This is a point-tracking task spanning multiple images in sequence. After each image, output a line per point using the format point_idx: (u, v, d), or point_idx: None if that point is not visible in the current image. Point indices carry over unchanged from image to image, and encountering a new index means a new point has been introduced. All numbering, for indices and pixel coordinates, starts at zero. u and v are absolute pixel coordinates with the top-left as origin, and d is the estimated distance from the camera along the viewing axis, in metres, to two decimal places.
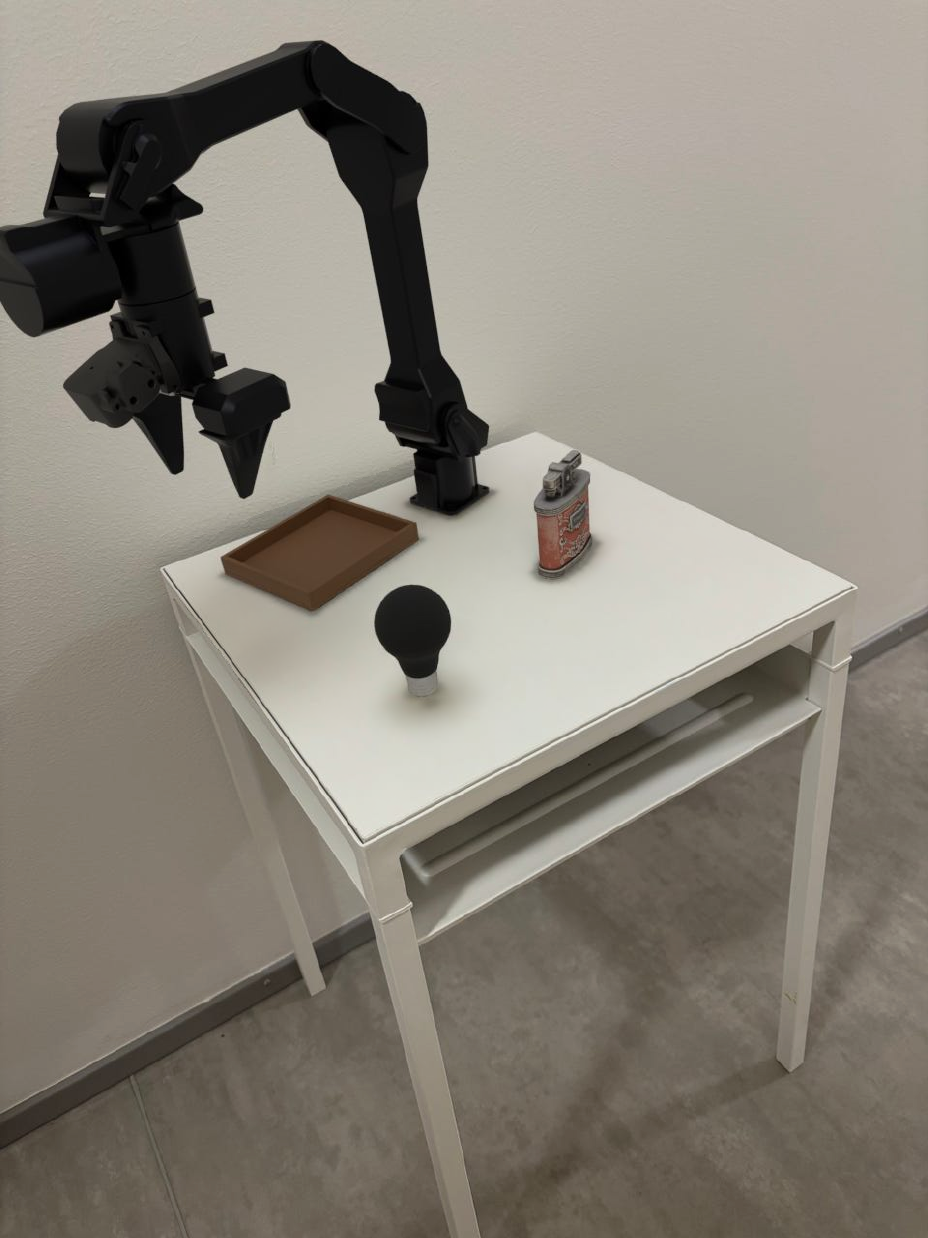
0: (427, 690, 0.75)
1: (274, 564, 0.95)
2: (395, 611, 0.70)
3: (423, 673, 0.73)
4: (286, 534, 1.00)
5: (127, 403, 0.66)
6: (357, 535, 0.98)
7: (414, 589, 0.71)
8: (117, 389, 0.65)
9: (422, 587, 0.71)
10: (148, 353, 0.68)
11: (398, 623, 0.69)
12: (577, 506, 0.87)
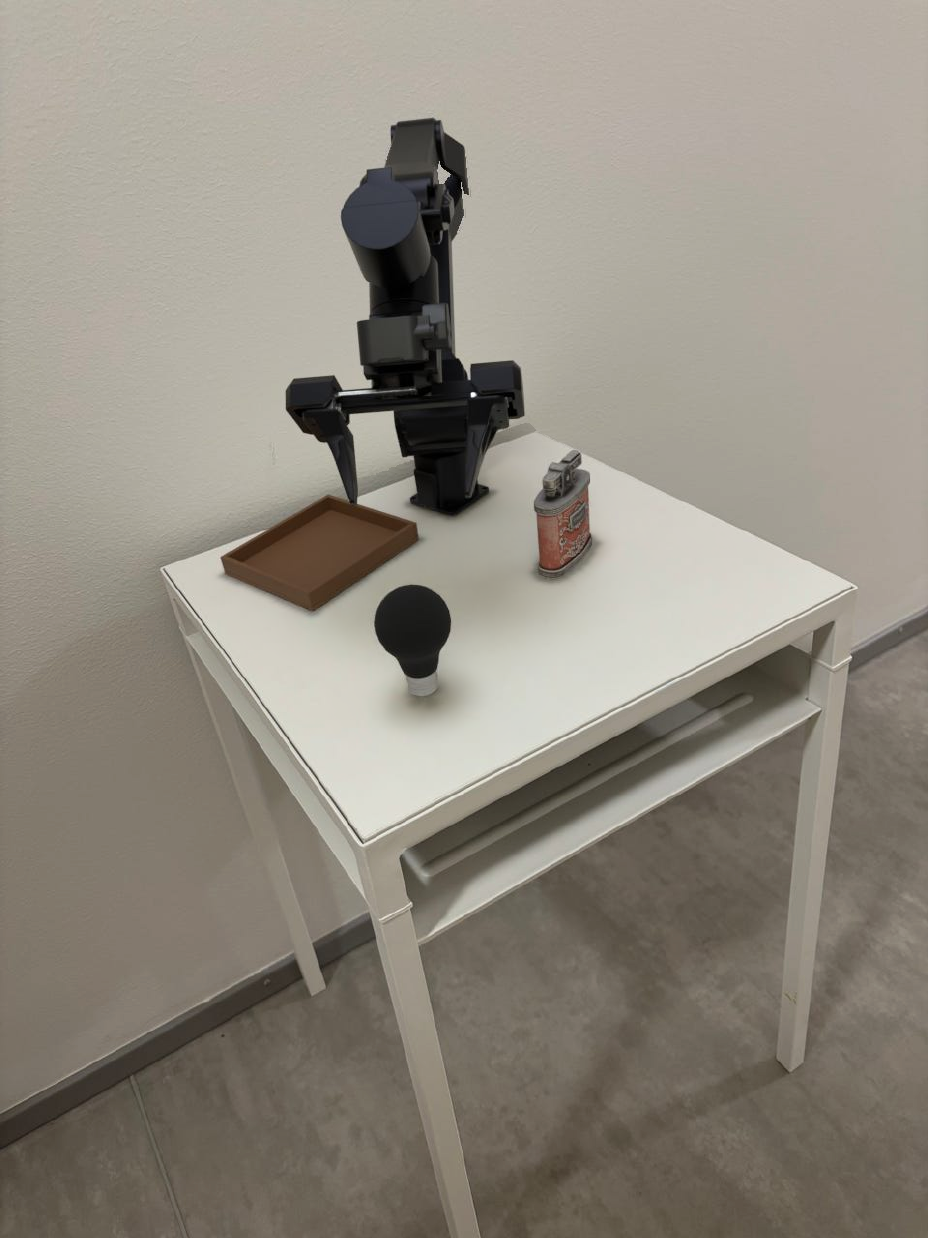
0: (427, 690, 0.75)
1: (274, 564, 0.95)
2: (395, 611, 0.70)
3: (423, 673, 0.73)
4: (286, 534, 1.00)
5: (446, 328, 0.69)
6: (357, 535, 0.98)
7: (414, 589, 0.71)
8: (440, 315, 0.70)
9: (422, 587, 0.71)
10: None
11: (398, 623, 0.69)
12: (577, 506, 0.87)
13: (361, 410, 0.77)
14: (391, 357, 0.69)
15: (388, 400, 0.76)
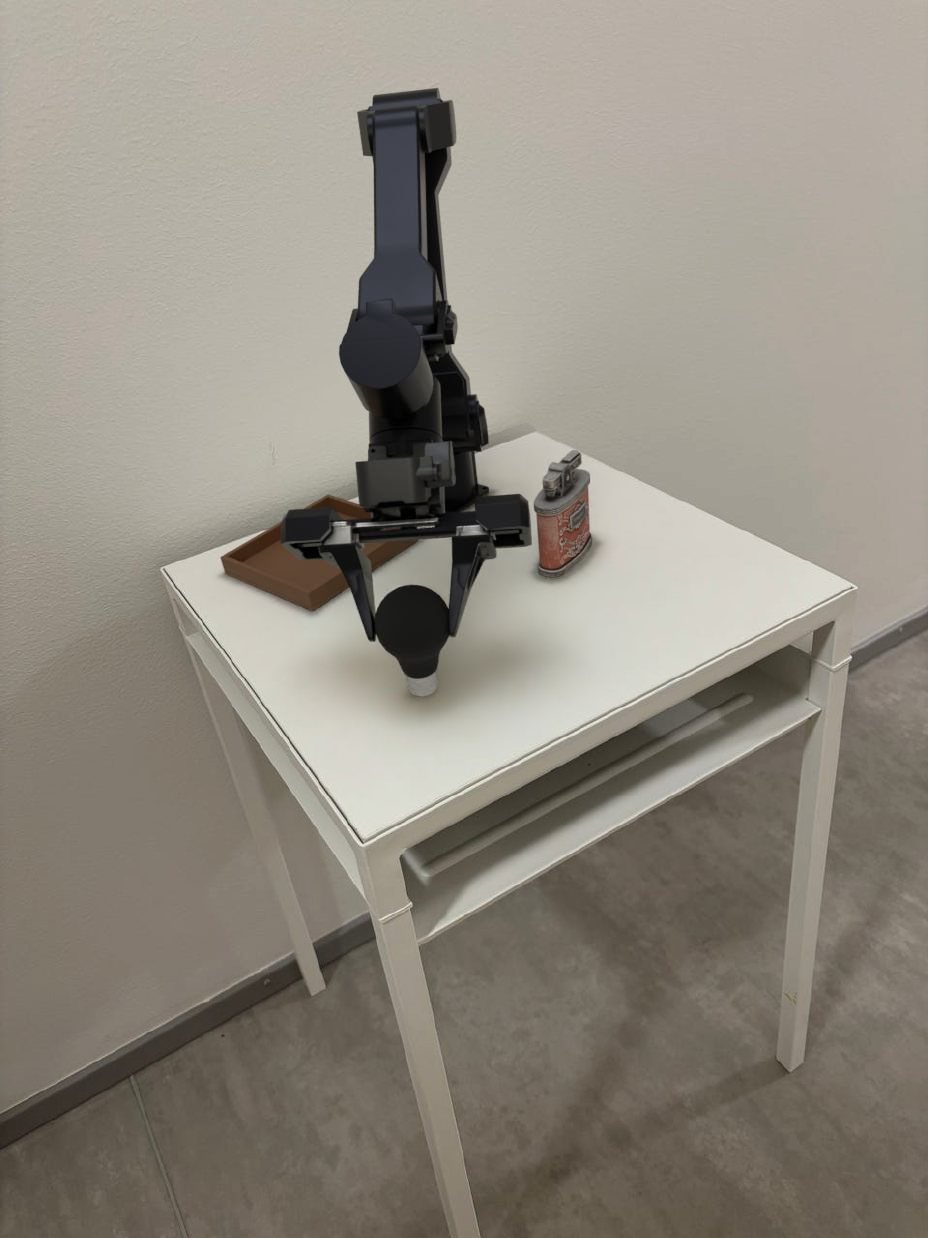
0: (427, 690, 0.75)
1: (274, 564, 0.95)
2: (395, 611, 0.70)
3: (423, 673, 0.73)
4: None
5: (450, 469, 0.66)
6: None
7: (414, 589, 0.71)
8: (443, 455, 0.66)
9: (422, 587, 0.71)
10: None
11: (399, 624, 0.69)
12: (577, 506, 0.87)
13: (360, 541, 0.73)
14: (392, 500, 0.65)
15: (388, 531, 0.73)
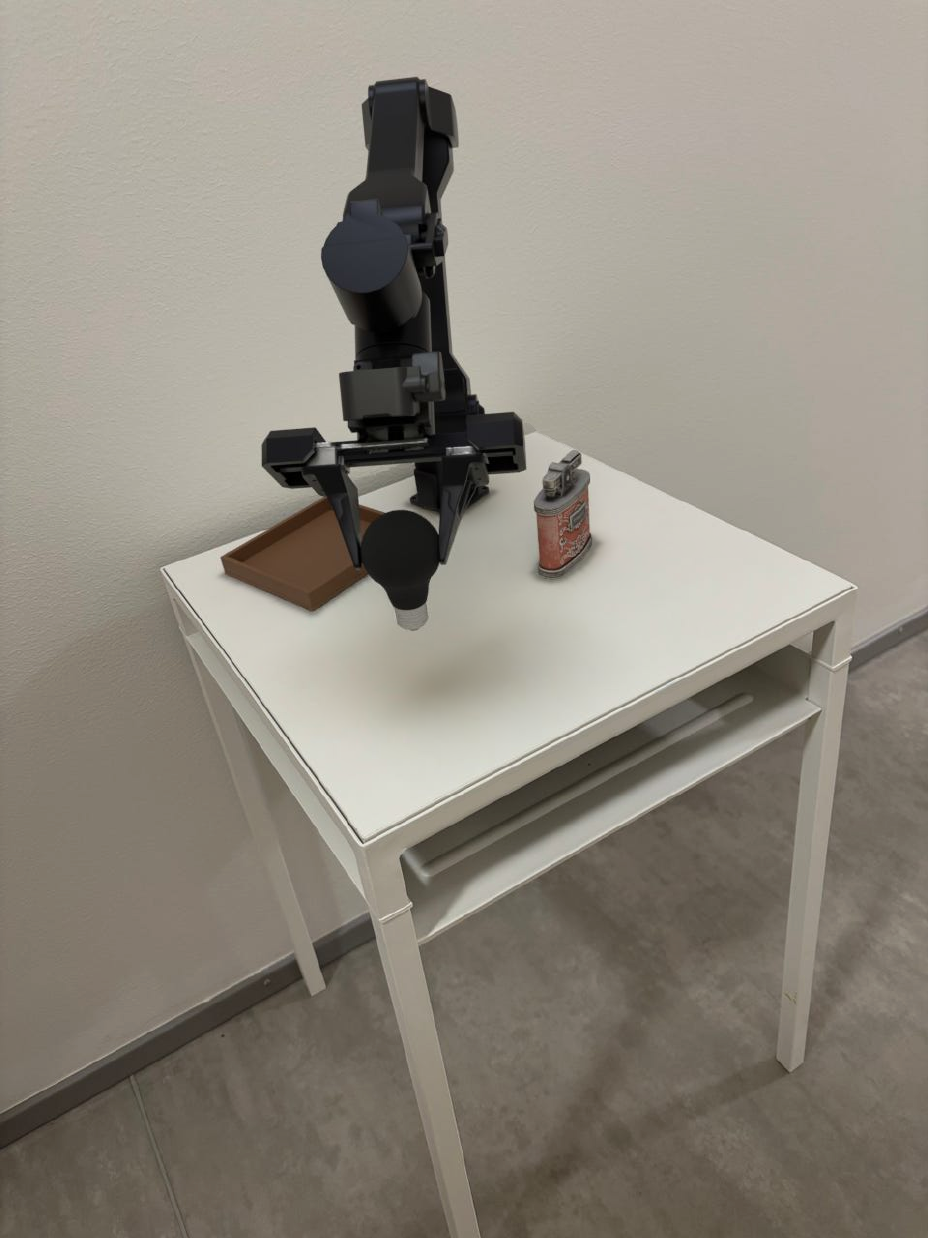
0: (417, 623, 0.71)
1: (274, 564, 0.95)
2: (382, 535, 0.66)
3: (412, 604, 0.70)
4: (286, 534, 1.00)
5: (439, 380, 0.62)
6: None
7: (402, 513, 0.67)
8: (432, 366, 0.62)
9: (411, 512, 0.68)
10: None
11: (386, 548, 0.66)
12: (577, 506, 0.87)
13: (346, 465, 0.69)
14: (377, 413, 0.62)
15: (375, 454, 0.69)
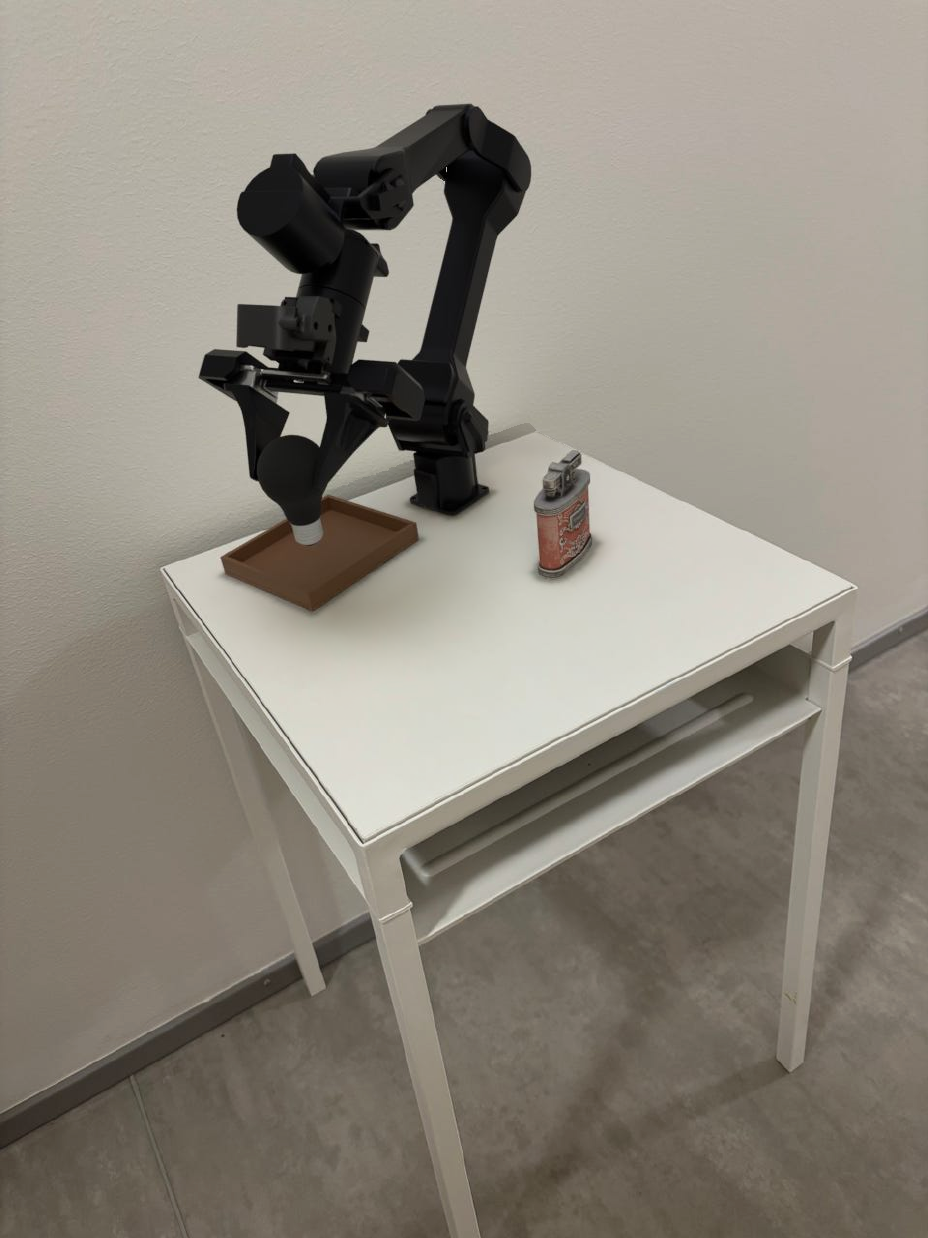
0: (306, 539, 0.80)
1: (274, 564, 0.95)
2: (267, 453, 0.75)
3: (298, 521, 0.78)
4: (286, 534, 1.00)
5: (312, 322, 0.69)
6: (357, 535, 0.98)
7: (293, 438, 0.76)
8: (309, 308, 0.69)
9: (303, 438, 0.76)
10: None
11: (266, 465, 0.75)
12: (577, 506, 0.87)
13: (270, 388, 0.79)
14: (257, 344, 0.71)
15: (292, 383, 0.78)
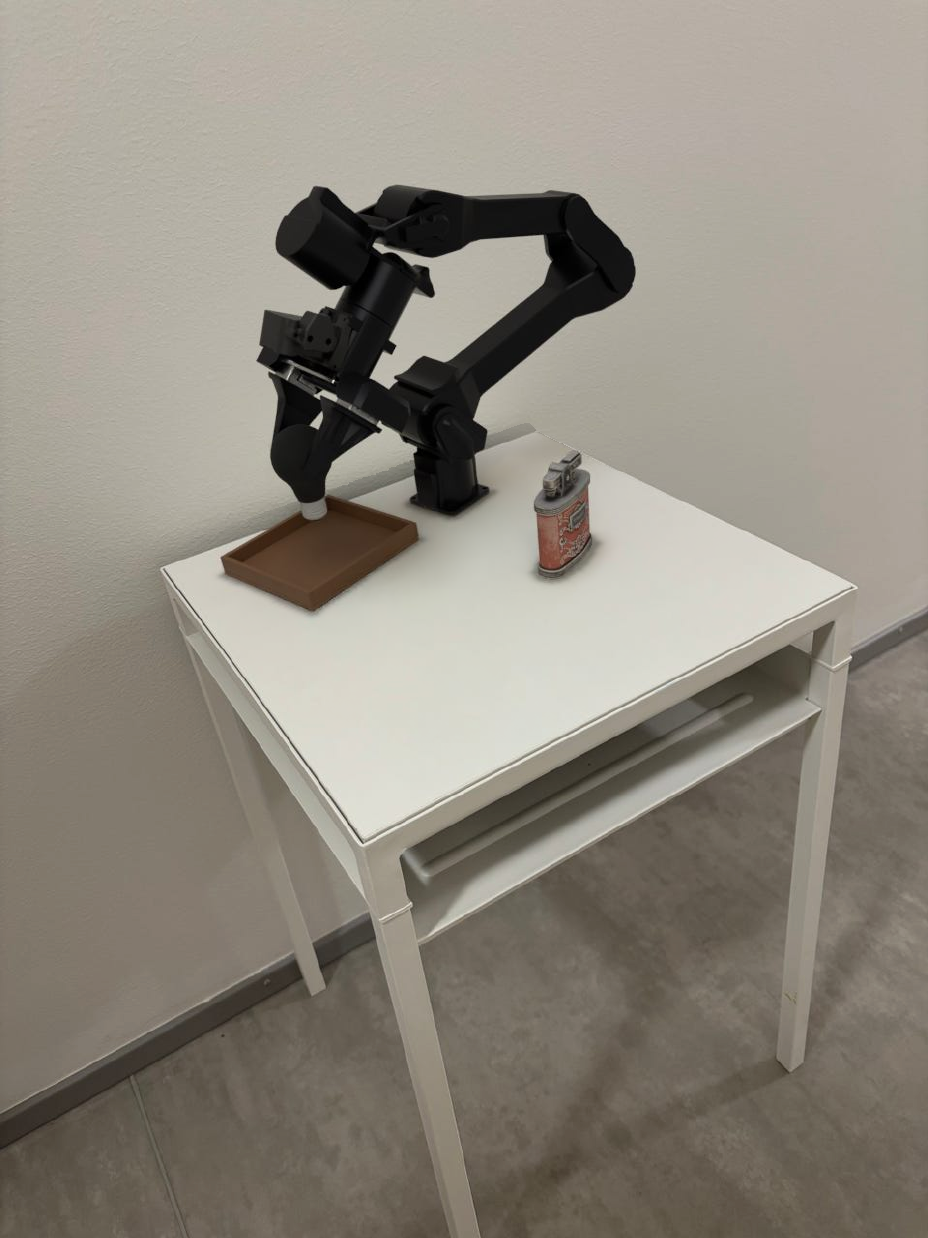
0: (307, 515, 0.92)
1: (274, 564, 0.95)
2: (276, 437, 0.88)
3: (299, 498, 0.91)
4: (286, 534, 1.00)
5: (305, 335, 0.81)
6: (357, 535, 0.98)
7: (300, 428, 0.88)
8: (307, 323, 0.81)
9: (309, 430, 0.88)
10: (337, 332, 0.85)
11: (272, 446, 0.88)
12: (577, 506, 0.87)
13: (306, 381, 0.91)
14: (269, 346, 0.83)
15: (319, 380, 0.90)
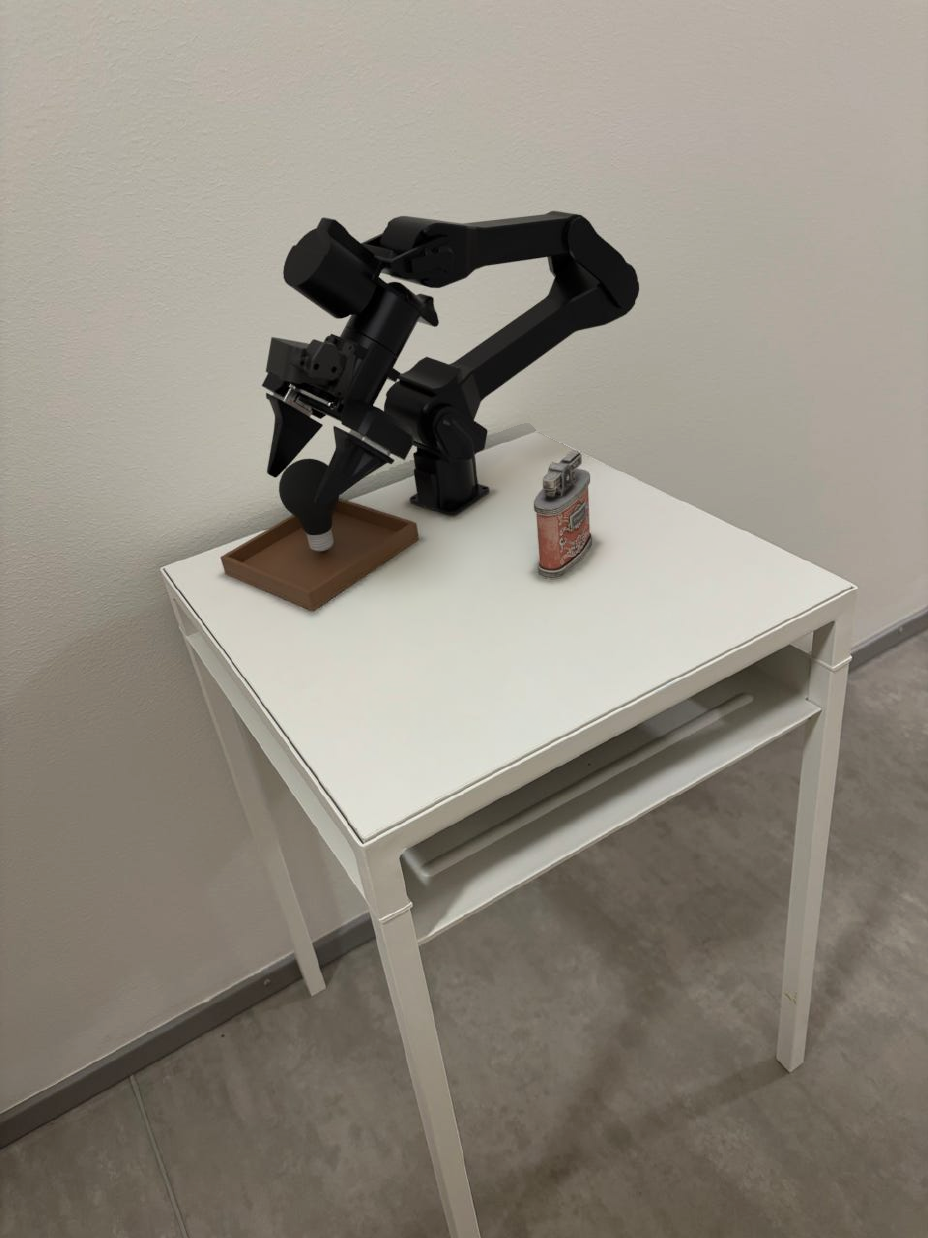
0: (314, 546, 0.94)
1: (274, 564, 0.95)
2: (285, 471, 0.90)
3: (307, 530, 0.93)
4: (286, 534, 1.00)
5: (312, 363, 0.82)
6: (357, 535, 0.98)
7: (309, 463, 0.90)
8: (313, 351, 0.82)
9: (317, 464, 0.90)
10: (342, 360, 0.86)
11: (282, 480, 0.90)
12: (577, 506, 0.87)
13: (311, 407, 0.93)
14: (275, 373, 0.85)
15: (323, 406, 0.91)
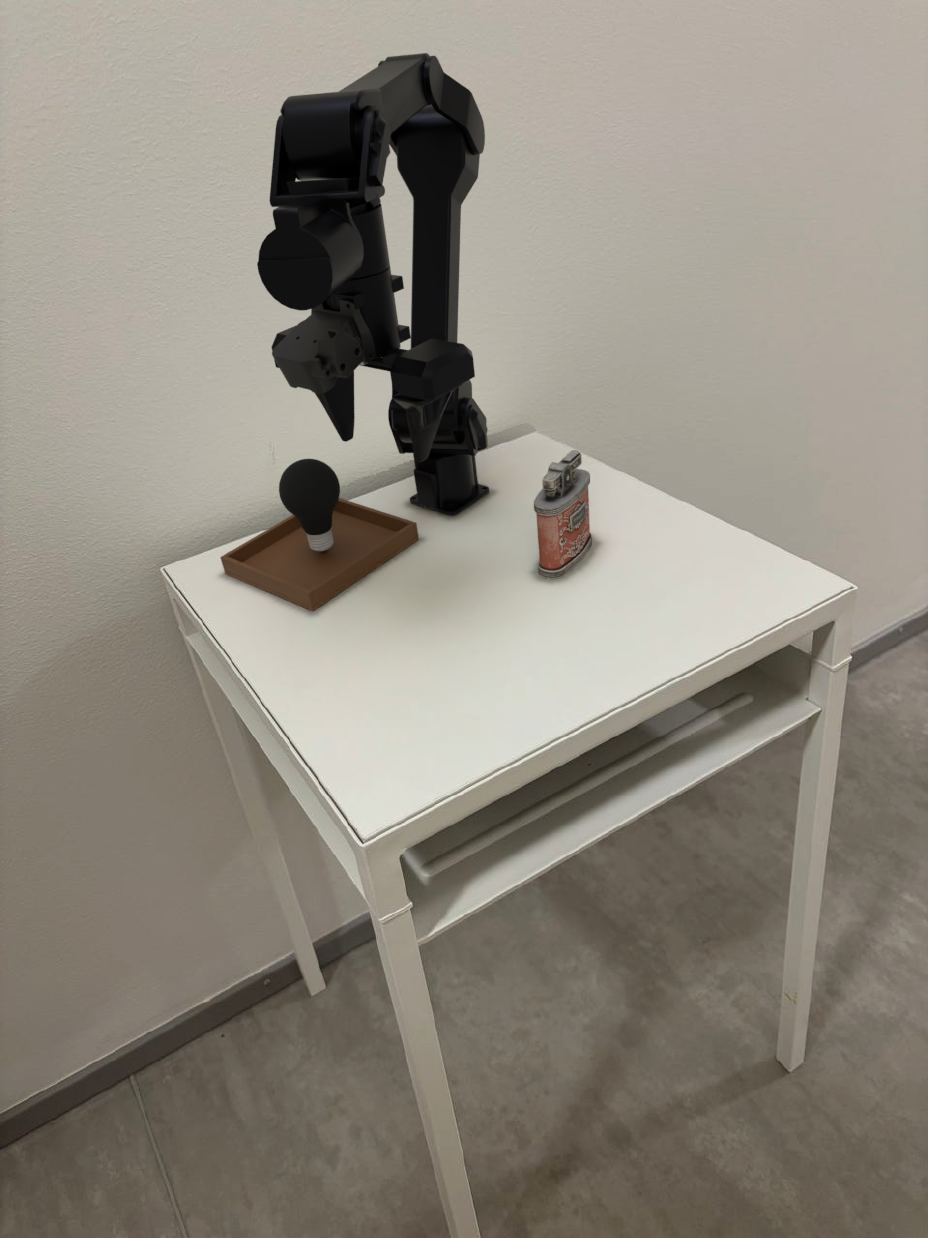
0: (314, 546, 0.94)
1: (274, 564, 0.95)
2: (285, 471, 0.90)
3: (307, 530, 0.93)
4: (286, 534, 1.00)
5: (338, 368, 0.72)
6: (357, 535, 0.98)
7: (309, 463, 0.90)
8: (330, 356, 0.71)
9: (317, 464, 0.90)
10: (350, 324, 0.74)
11: (282, 480, 0.90)
12: (577, 506, 0.87)
13: None
14: (304, 387, 0.75)
15: None
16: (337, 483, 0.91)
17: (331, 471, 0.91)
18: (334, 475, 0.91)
